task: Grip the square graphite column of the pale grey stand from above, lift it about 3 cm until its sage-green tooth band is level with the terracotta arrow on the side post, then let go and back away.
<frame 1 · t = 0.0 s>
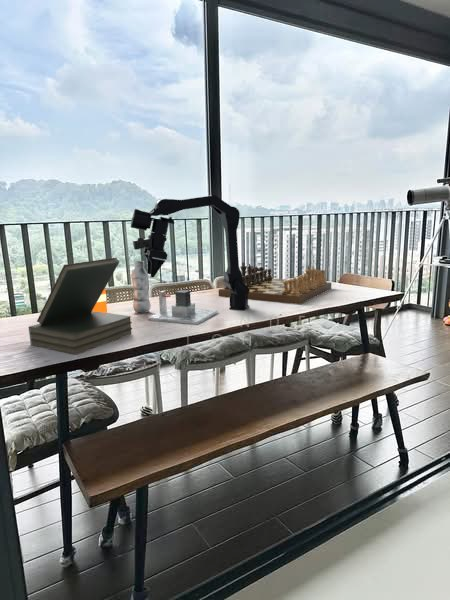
hand: (150, 275, 154), 15 cm above the table, tool pointing down, fingers open, 9 cm apart
chess set: (276, 293, 199), on the table
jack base: (183, 316, 156), on the table
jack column: (183, 302, 155), point 5 cm above the table, slide at 0.0 cm
plastic bottle: (142, 312, 164), on the table
bible: (83, 341, 130), on the table
orange juice: (93, 316, 160), on the table
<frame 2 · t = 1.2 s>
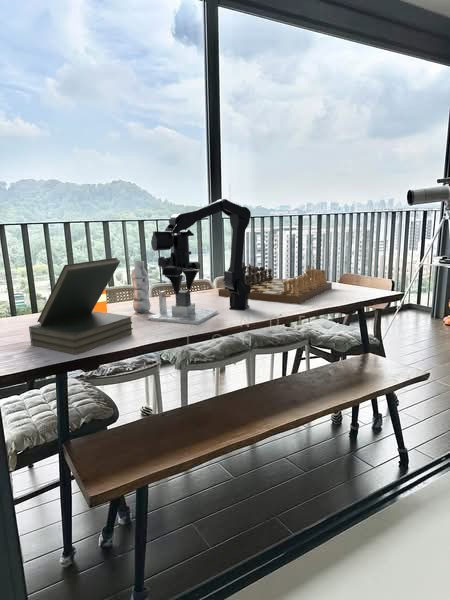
hand: (183, 291, 154), 9 cm above the table, tool pointing down, fingers open, 9 cm apart
nothing on the table moved.
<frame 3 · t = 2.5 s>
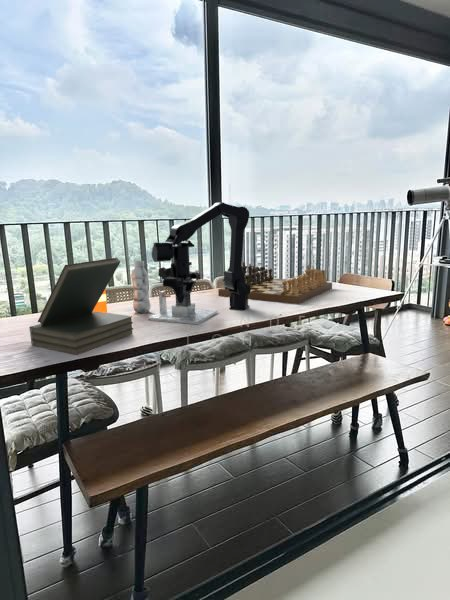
hand: (183, 301, 155), 6 cm above the table, tool pointing down, fingers closed on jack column, 4 cm apart
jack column: (183, 302, 155), point 5 cm above the table, slide at 0.0 cm, touching gripper
everything else where it was.
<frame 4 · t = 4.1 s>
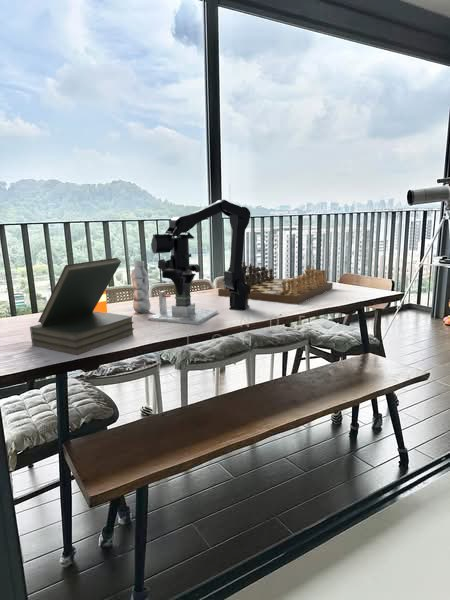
hand: (182, 294, 155), 8 cm above the table, tool pointing down, fingers closed on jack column, 4 cm apart
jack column: (182, 294, 155), point 8 cm above the table, slide at 2.9 cm, touching gripper
everything else where it was.
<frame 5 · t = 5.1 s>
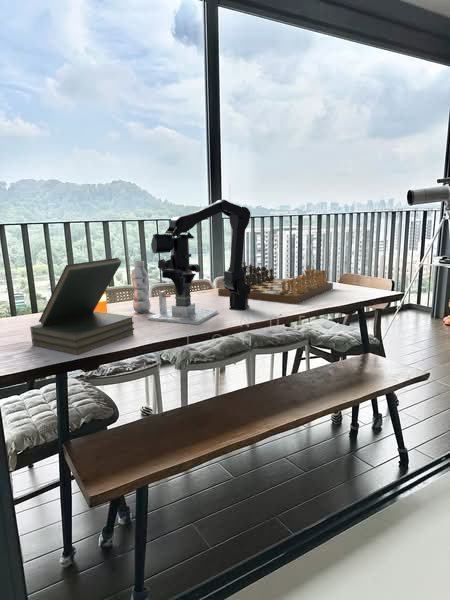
hand: (182, 294, 155), 8 cm above the table, tool pointing down, fingers closed on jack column, 4 cm apart
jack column: (182, 294, 155), point 8 cm above the table, slide at 3.0 cm, touching gripper
everything else where it was.
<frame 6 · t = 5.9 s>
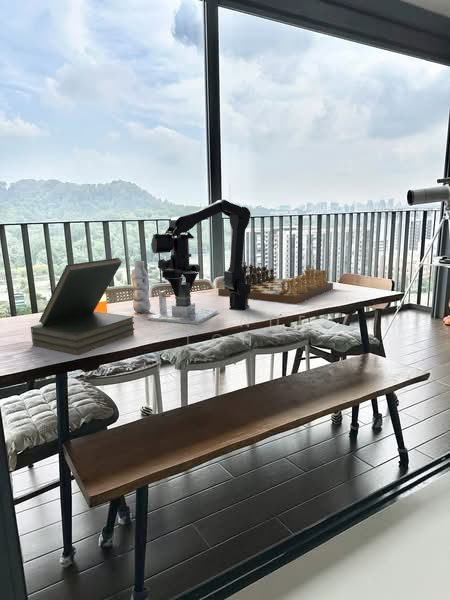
hand: (182, 294, 155), 8 cm above the table, tool pointing down, fingers open, 9 cm apart
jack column: (182, 294, 155), point 8 cm above the table, slide at 3.0 cm
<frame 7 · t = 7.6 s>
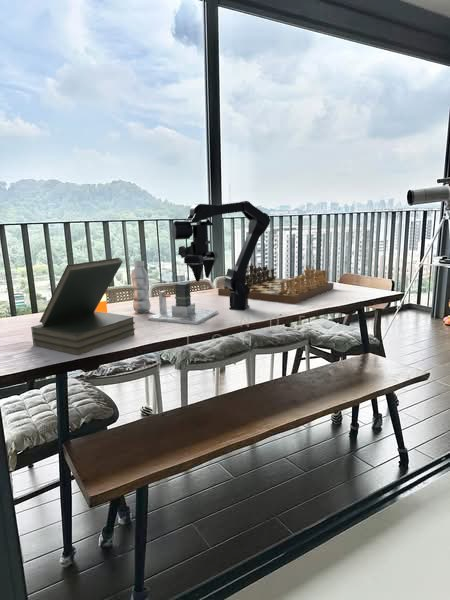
hand: (202, 279, 160), 13 cm above the table, tool pointing down, fingers open, 9 cm apart
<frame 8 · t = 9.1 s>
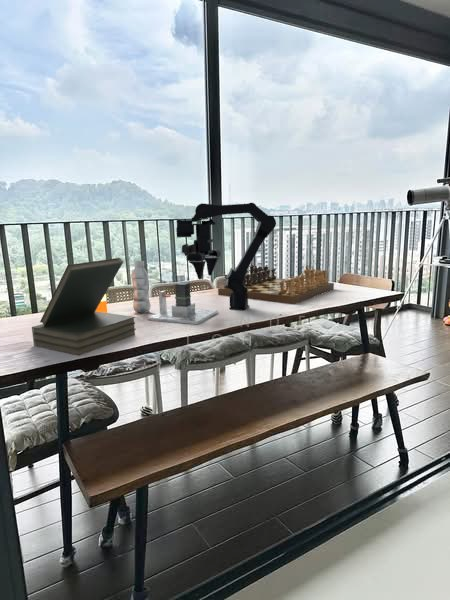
hand: (204, 277, 164), 13 cm above the table, tool pointing down, fingers open, 9 cm apart
at the end: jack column slide at 3.0 cm; the gripper is holding nothing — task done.
